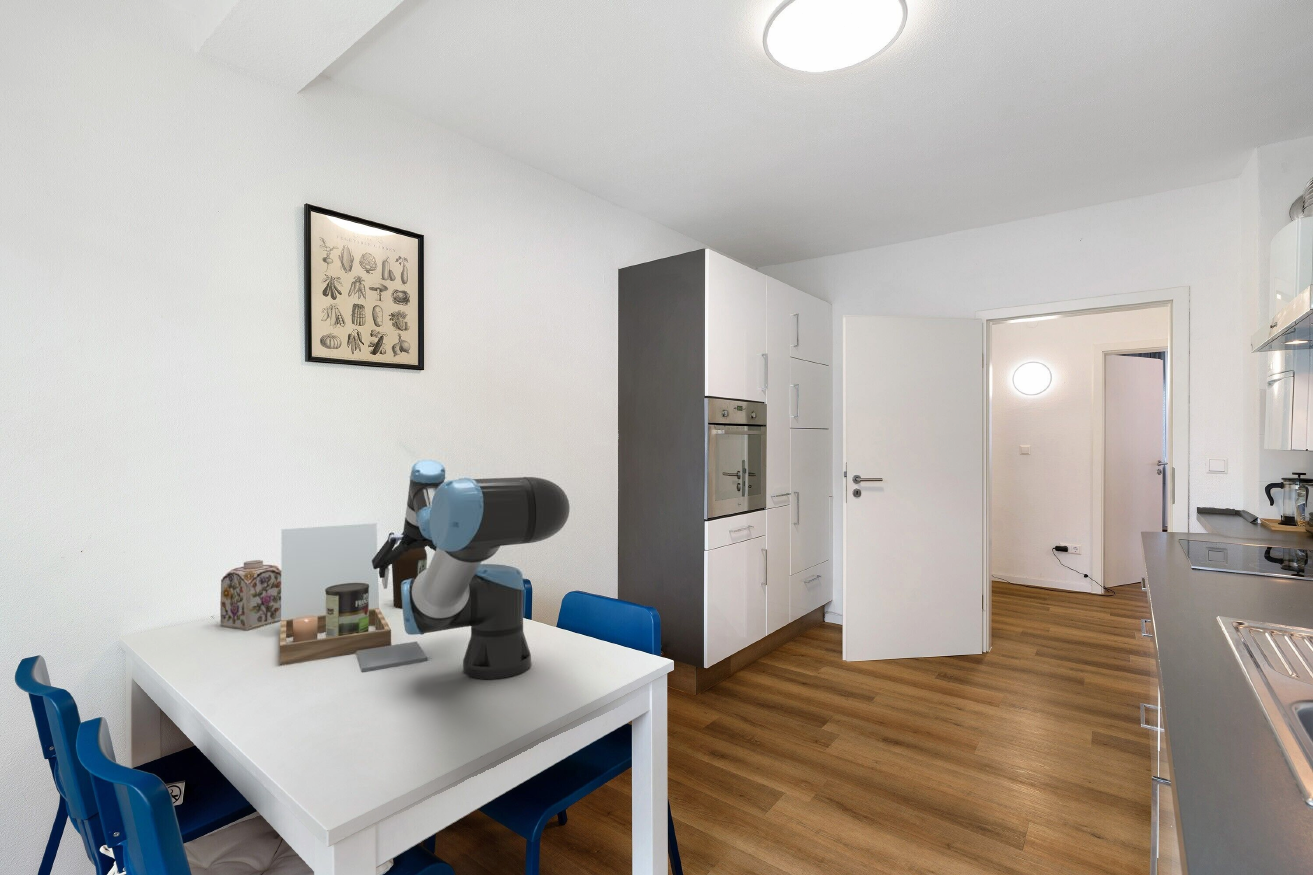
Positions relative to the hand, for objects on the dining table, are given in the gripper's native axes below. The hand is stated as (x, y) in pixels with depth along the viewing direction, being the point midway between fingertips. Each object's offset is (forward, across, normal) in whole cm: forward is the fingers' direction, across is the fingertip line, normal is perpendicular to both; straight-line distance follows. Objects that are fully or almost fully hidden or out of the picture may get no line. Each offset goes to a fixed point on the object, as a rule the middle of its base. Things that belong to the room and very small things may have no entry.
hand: (412, 580), depth 159 cm
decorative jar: (+38, +34, -29) cm, 59 cm away
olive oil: (+37, -8, -24) cm, 44 cm away
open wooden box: (+20, +17, -1) cm, 26 cm away
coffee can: (+20, +14, -1) cm, 24 cm away
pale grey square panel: (+15, +16, -23) cm, 32 cm away
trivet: (+8, +8, +16) cm, 19 cm away
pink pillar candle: (+22, +23, -6) cm, 33 cm away
